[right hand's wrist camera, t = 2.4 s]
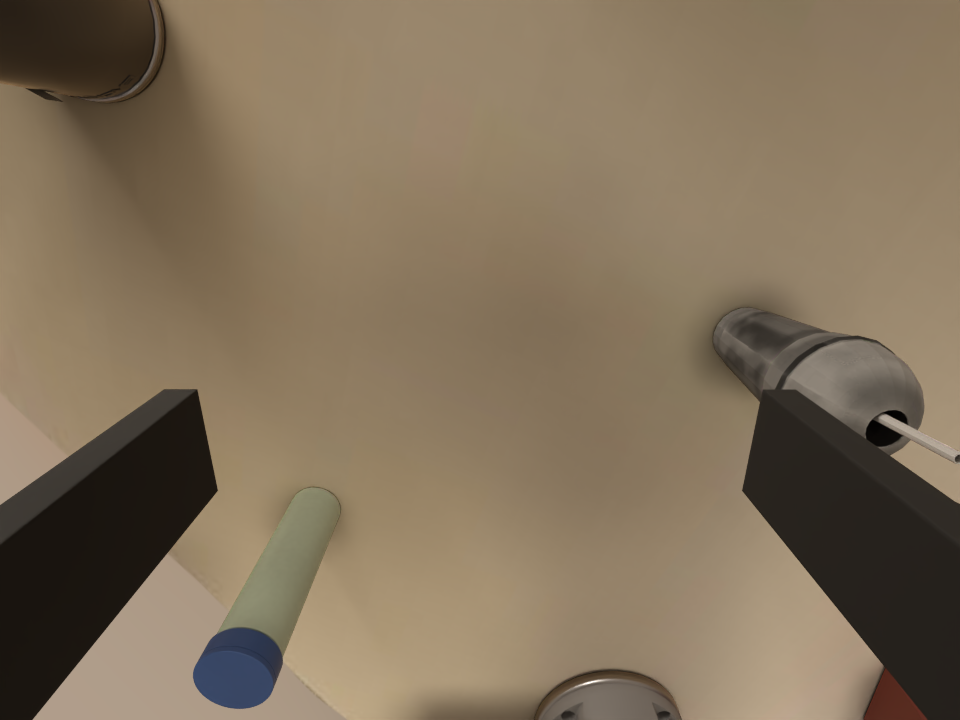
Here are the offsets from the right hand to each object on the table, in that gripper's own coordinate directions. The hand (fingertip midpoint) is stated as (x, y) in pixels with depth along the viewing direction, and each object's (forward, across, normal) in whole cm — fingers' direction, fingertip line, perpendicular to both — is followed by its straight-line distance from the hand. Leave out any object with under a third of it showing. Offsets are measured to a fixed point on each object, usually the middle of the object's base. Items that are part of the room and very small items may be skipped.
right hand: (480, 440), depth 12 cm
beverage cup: (+28, -20, +6) cm, 35 cm away
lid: (+12, +14, +22) cm, 29 cm away
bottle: (+28, +14, +22) cm, 39 cm away
